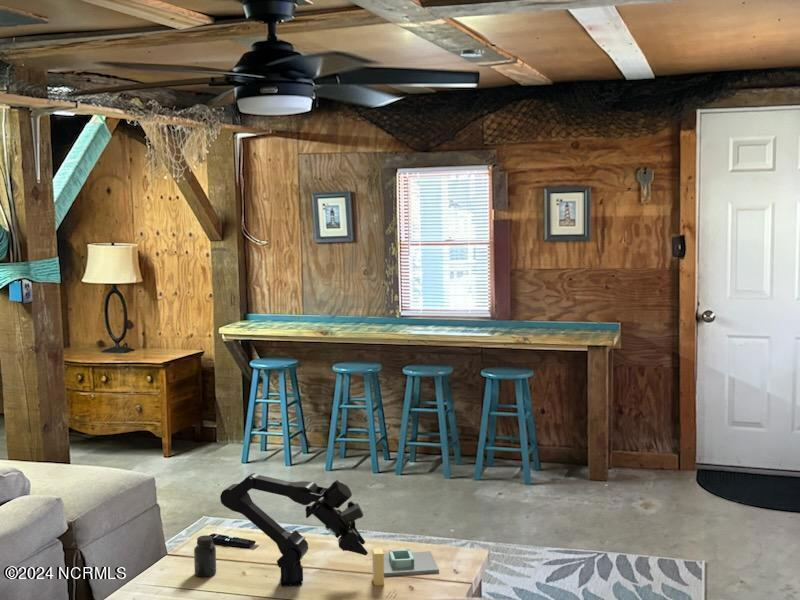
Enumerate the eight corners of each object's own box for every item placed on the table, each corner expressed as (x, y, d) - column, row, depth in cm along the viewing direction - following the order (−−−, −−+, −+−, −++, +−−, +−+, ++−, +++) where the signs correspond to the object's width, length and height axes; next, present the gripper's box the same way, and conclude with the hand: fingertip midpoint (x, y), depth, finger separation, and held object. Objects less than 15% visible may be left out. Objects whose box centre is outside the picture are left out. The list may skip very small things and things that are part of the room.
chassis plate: (383, 576, 284) (382, 565, 283) (377, 557, 299) (377, 547, 299) (438, 572, 286) (438, 562, 286) (430, 554, 302) (430, 544, 302)
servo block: (374, 585, 277) (373, 554, 276) (372, 578, 282) (372, 548, 281) (384, 584, 277) (383, 553, 276) (382, 578, 282) (381, 547, 281)
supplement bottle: (190, 576, 285) (189, 540, 284) (202, 568, 291) (201, 532, 290) (209, 579, 282) (208, 542, 281) (220, 571, 289) (219, 535, 288)
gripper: (349, 506, 266) (386, 540, 269) (345, 488, 285) (380, 519, 287) (323, 534, 266) (361, 567, 268) (321, 513, 284) (356, 545, 287)
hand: (365, 548), depth 278 cm, fingers open, 9 cm apart
